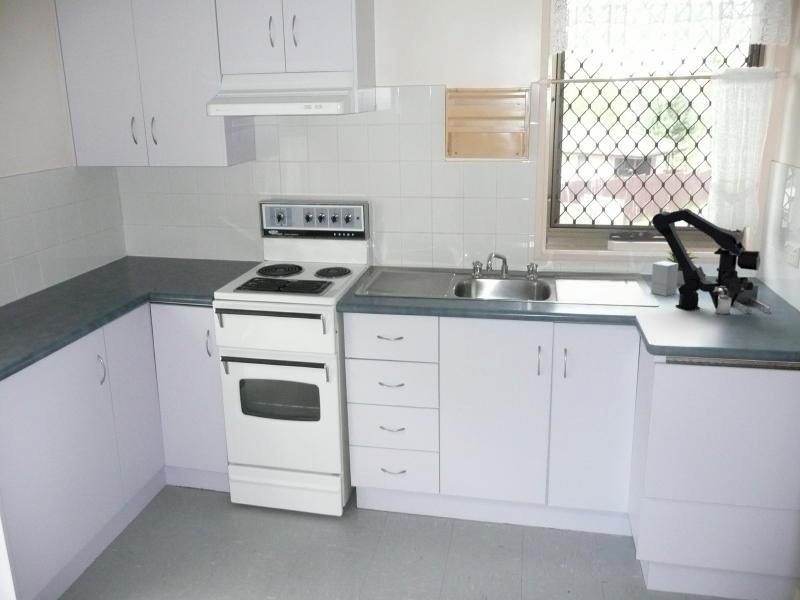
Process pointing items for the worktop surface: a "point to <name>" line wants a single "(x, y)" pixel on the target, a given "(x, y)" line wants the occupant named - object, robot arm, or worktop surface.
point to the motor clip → (746, 300)
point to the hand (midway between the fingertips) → (723, 307)
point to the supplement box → (664, 278)
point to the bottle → (723, 304)
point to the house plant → (680, 275)
